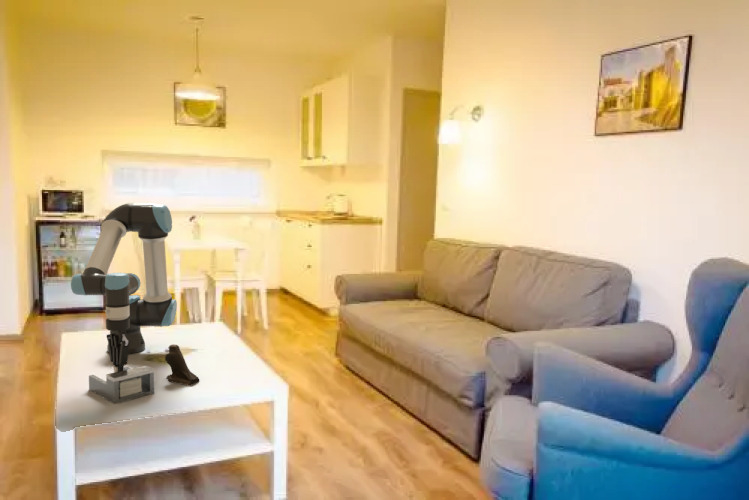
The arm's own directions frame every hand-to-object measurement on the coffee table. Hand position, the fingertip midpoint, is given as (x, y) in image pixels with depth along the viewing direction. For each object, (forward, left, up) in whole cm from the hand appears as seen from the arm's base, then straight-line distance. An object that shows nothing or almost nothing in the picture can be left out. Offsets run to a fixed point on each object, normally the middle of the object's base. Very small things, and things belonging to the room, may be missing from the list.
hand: (119, 383), depth 203 cm
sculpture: (+7, +21, -3) cm, 22 cm away
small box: (+6, 0, -2) cm, 6 cm away
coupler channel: (+3, 0, -3) cm, 4 cm away
